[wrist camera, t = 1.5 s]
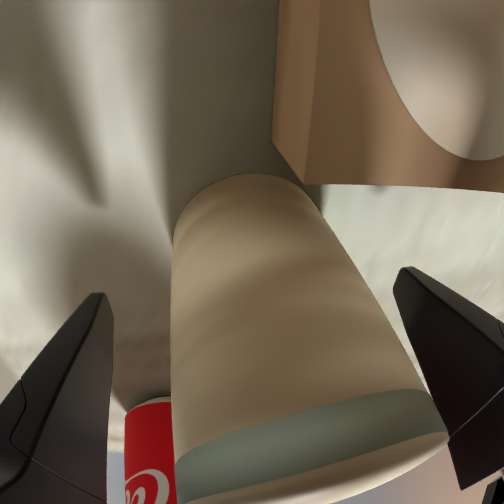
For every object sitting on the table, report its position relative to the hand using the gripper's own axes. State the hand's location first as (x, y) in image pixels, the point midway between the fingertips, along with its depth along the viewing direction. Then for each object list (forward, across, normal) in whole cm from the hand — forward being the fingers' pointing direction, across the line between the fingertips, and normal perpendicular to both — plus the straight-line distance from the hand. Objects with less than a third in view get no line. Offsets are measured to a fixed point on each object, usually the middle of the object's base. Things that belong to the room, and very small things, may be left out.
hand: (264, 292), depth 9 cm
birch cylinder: (+2, 0, 0) cm, 2 cm away
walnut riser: (+2, -5, -8) cm, 10 cm away
